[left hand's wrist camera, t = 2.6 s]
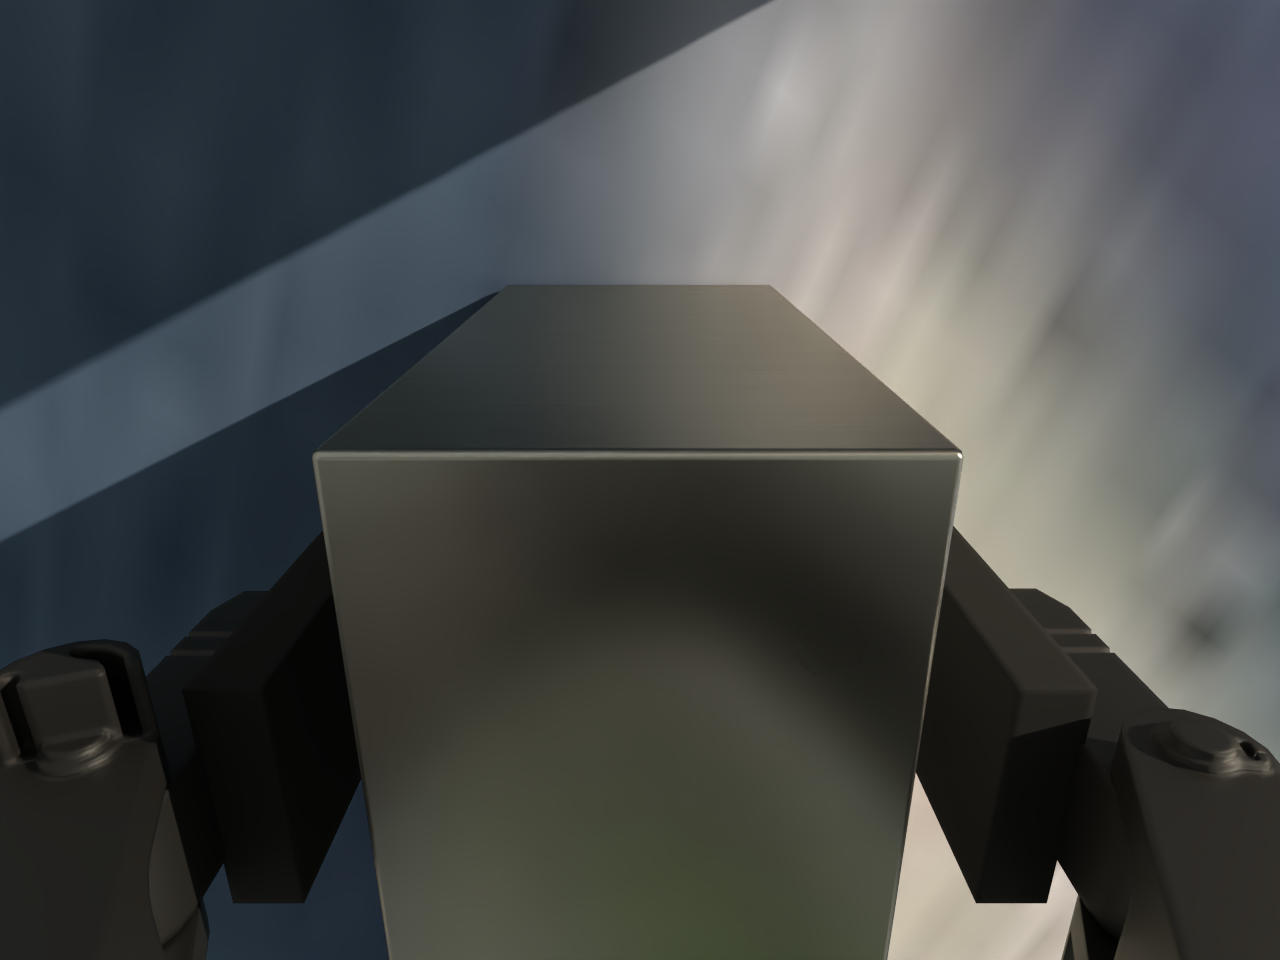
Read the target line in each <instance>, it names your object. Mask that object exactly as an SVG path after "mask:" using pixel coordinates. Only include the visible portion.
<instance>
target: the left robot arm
mask: <svg viewBox="0 0 1280 960" xmlns="http://www.w3.org/2000/svg"><path fill="white" fill-rule="evenodd" d="M1109 649H1110V648H1109V647H1108V646H1107V645H1106V644H1105V643H1104V642H1103V641H1102V640H1101V639H1100V638H1099V637H1098V636H1097V635H1096V634H1092V633H1091V629H1090V628H1089V627H1088V626H1087V625H1086V624H1085V623H1084V622H1083V621H1082V620H1081V619H1080V618H1079V617H1078V616H1077V615H1076V614H1075V613H1074V612H1073V611H1072V610H1071V609H1070V608H1069V607H1068V606H1066V605H1064V604H1062V603H1060V602H1059V601H1057V600H1055V599H1053V598H1052V597H1050V596H1048V595H1046V594H1044V593H1043V592H1041V591H1039V590H1037V589H1009V588H1008V587H1007V586H1006V585H1005V584H1004V583H1003V581H1002V580H1001V579H1000V578H999V577H998V576H997V575H996V574H995V572H994V571H993V570H992V569H991V568H990V567H989V566H988V565H987V563H986V562H985V561H984V560H983V559H982V558H981V557H980V555H979V554H978V553H977V552H976V551H975V550H974V549H973V548H972V546H971V545H970V544H969V543H968V542H967V541H966V540H965V539H964V537H963V536H962V535H961V534H960V533H959V532H958V531H957V530H956V528H955V527H954V526H953V529H952V536H951V542H950V549H949V556H948V562H947V569H946V575H945V582H944V588H943V595H942V602H941V608H940V615H939V621H938V628H937V635H936V641H935V648H934V654H933V661H932V667H931V674H930V681H929V687H928V694H927V700H926V707H925V714H924V720H923V727H922V733H921V740H920V746H919V753H918V760H917V766H916V774H917V776H918V778H919V780H920V782H921V784H922V787H923V789H924V791H925V793H926V795H927V797H928V800H929V802H930V804H931V806H932V808H933V810H934V813H935V815H936V817H937V819H938V821H939V824H940V826H941V828H942V830H943V832H944V834H945V837H946V839H947V841H948V843H949V845H950V847H951V850H952V852H953V854H954V856H955V858H956V861H957V863H958V865H959V867H960V869H961V871H962V874H963V876H964V878H965V880H966V882H967V884H968V887H969V889H970V891H971V893H972V895H973V897H974V900H975V902H976V903H1047V900H1048V895H1049V891H1050V887H1051V883H1052V879H1053V875H1054V871H1055V866H1056V862H1057V860H1058V862H1059V864H1060V865H1061V867H1062V868H1063V870H1064V872H1065V873H1066V875H1067V877H1068V878H1069V880H1070V882H1071V883H1072V885H1073V887H1074V888H1075V890H1076V892H1077V893H1078V897H1077V901H1076V905H1075V909H1074V913H1073V916H1072V920H1071V924H1070V928H1069V932H1068V936H1067V940H1066V943H1065V947H1064V951H1063V955H1062V959H1061V960H1280V763H1279V762H1278V761H1277V760H1276V759H1275V757H1274V756H1273V755H1272V754H1271V753H1270V751H1269V750H1268V749H1267V748H1266V747H1264V746H1263V745H1261V744H1260V743H1258V742H1257V741H1256V740H1254V739H1253V738H1251V737H1250V736H1248V735H1247V734H1246V733H1244V732H1243V731H1240V730H1238V729H1236V728H1234V727H1232V726H1230V725H1227V724H1225V723H1223V722H1221V721H1219V720H1217V719H1214V718H1211V717H1207V716H1204V715H1200V714H1197V713H1193V712H1190V711H1186V710H1180V709H1170V708H1168V707H1167V706H1166V705H1165V704H1164V703H1163V702H1162V701H1161V700H1160V699H1159V698H1158V697H1157V696H1156V695H1155V694H1154V693H1153V692H1152V691H1151V690H1150V689H1149V688H1148V687H1147V686H1146V685H1145V684H1144V683H1143V682H1142V681H1141V680H1140V679H1139V678H1138V677H1137V676H1136V674H1135V673H1134V672H1133V671H1132V670H1131V669H1130V668H1129V667H1128V666H1127V665H1126V664H1125V663H1124V662H1123V661H1122V660H1121V659H1120V658H1119V657H1118V656H1117V655H1116V654H1115V653H1110V651H1109ZM360 780H361V772H360V766H359V759H358V753H357V746H356V740H355V734H354V727H353V721H352V714H351V708H350V701H349V695H348V688H347V682H346V675H345V669H344V662H343V656H342V649H341V643H340V636H339V630H338V623H337V617H336V610H335V604H334V597H333V591H332V584H331V578H330V571H329V565H328V558H327V552H326V545H325V539H324V532H323V531H322V532H321V533H320V534H319V535H318V536H317V537H316V539H315V540H314V541H313V542H312V543H311V544H310V545H309V546H308V548H307V549H306V550H305V551H304V552H303V553H302V554H301V555H300V557H299V558H298V559H297V560H296V561H295V562H294V563H293V565H292V566H291V567H290V568H289V569H288V570H287V571H286V572H285V574H284V575H283V576H282V577H281V578H280V579H279V580H278V581H277V583H276V584H275V585H274V586H273V587H272V588H271V589H270V590H269V591H244V592H243V593H241V594H239V595H237V596H236V597H234V598H232V599H230V600H228V601H227V602H225V603H223V604H221V605H220V606H218V607H216V608H214V609H213V610H211V611H210V612H209V613H208V614H207V615H206V616H205V617H204V618H203V619H202V620H201V621H200V622H199V623H198V624H197V625H196V626H195V627H194V628H193V629H192V630H191V631H190V632H189V637H185V638H184V639H183V640H182V641H181V642H180V643H179V644H178V645H177V646H176V647H175V648H174V649H173V650H172V651H171V656H166V657H165V658H164V659H163V660H162V661H161V662H160V663H159V664H158V665H157V666H156V667H155V668H154V669H153V670H152V671H151V672H150V673H149V674H148V675H147V676H146V677H145V673H144V669H143V665H142V661H141V658H140V654H139V651H138V650H137V649H135V648H134V647H132V646H131V645H129V644H128V643H126V642H120V641H112V640H105V639H103V640H91V641H79V642H73V643H69V644H65V645H61V646H57V647H53V648H49V649H45V650H42V651H39V652H37V653H34V654H32V655H29V656H27V657H24V658H22V659H19V660H17V661H14V662H12V663H11V664H9V665H7V666H6V667H4V668H2V669H1V670H0V960H206V955H207V947H208V939H209V924H208V918H207V913H206V909H205V905H204V901H203V896H204V894H205V893H206V891H207V889H208V888H209V886H210V884H211V883H212V881H213V879H214V878H215V876H216V874H217V873H218V871H219V869H220V868H221V866H222V864H223V863H224V866H225V871H226V875H227V879H228V883H229V887H230V891H231V895H232V900H233V903H304V902H305V900H306V898H307V895H308V893H309V891H310V889H311V887H312V884H313V882H314V880H315V878H316V876H317V874H318V871H319V869H320V867H321V865H322V863H323V861H324V858H325V856H326V854H327V852H328V850H329V847H330V845H331V843H332V841H333V839H334V837H335V834H336V832H337V830H338V828H339V826H340V824H341V821H342V819H343V817H344V815H345V813H346V811H347V808H348V806H349V804H350V802H351V800H352V797H353V795H354V793H355V791H356V789H357V787H358V784H359V782H360Z"/></svg>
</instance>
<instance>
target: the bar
mask: <svg viewBox="0 0 1280 960" xmlns="http://www.w3.org/2000/svg"><path fill="white" fill-rule="evenodd" d="M312 461H313V467H314V474H315V480H316V487H317V493H318V500H319V506H320V513H321V519H322V526H323V532H324V539H325V545H326V552H327V558H328V565H329V571H330V578H331V584H332V591H333V597H334V604H335V610H336V617H337V623H338V630H339V636H340V643H341V649H342V656H343V662H344V669H345V675H346V682H347V688H348V695H349V701H350V708H351V714H352V721H353V727H354V734H355V740H356V746H357V753H358V759H359V766H360V772H361V779H362V785H363V792H364V798H365V805H366V811H367V818H368V824H369V831H370V837H371V844H372V850H373V857H374V863H375V870H376V876H377V883H378V889H379V896H380V902H381V909H382V915H383V922H384V928H385V935H386V941H387V948H388V954H389V960H887V957H888V950H889V944H890V937H891V931H892V924H893V918H894V911H895V904H896V898H897V891H898V885H899V878H900V871H901V865H902V858H903V852H904V845H905V839H906V832H907V825H908V819H909V812H910V806H911V799H912V792H913V786H914V779H915V773H916V766H917V760H918V753H919V746H920V740H921V733H922V727H923V720H924V714H925V707H926V700H927V694H928V687H929V681H930V674H931V667H932V661H933V654H934V648H935V641H936V635H937V628H938V621H939V615H940V608H941V602H942V595H943V588H944V582H945V575H946V569H947V562H948V556H949V549H950V542H951V536H952V529H953V523H954V516H955V509H956V503H957V496H958V490H959V483H960V477H961V470H962V463H963V455H962V451H961V450H960V449H959V448H958V447H956V446H955V445H954V444H953V443H952V442H951V441H949V440H948V439H947V438H946V437H945V436H944V435H943V434H941V433H940V432H939V431H938V430H937V429H936V428H934V427H933V426H932V425H931V424H930V423H929V422H928V421H926V420H925V419H924V418H923V417H922V416H921V415H919V414H918V413H917V412H916V411H915V410H914V409H913V408H911V407H910V406H909V405H908V404H907V403H906V402H904V401H903V400H902V399H901V398H900V397H899V396H898V395H896V394H895V393H894V392H893V391H892V390H891V389H889V388H888V387H887V386H886V385H885V384H884V383H883V382H881V381H880V380H879V379H878V378H877V377H876V376H875V375H873V374H872V373H871V372H870V371H869V370H868V369H866V368H865V367H864V366H863V365H862V364H861V363H860V362H858V361H857V360H856V359H855V358H854V357H853V356H851V355H850V354H849V353H848V352H847V351H846V350H845V349H843V348H842V347H841V346H840V345H839V344H838V343H836V342H835V341H834V340H833V339H832V338H831V337H830V336H828V335H827V334H826V333H825V332H824V331H823V330H821V329H820V328H819V327H818V326H817V325H816V324H815V323H813V322H812V321H811V320H810V319H809V318H808V317H806V316H805V315H804V314H803V313H802V312H801V311H800V310H798V309H797V308H796V307H795V306H794V305H793V304H792V303H790V302H789V301H788V300H787V299H786V298H785V297H783V296H782V295H781V294H780V293H779V292H778V291H777V290H775V289H774V288H773V287H772V286H770V285H508V286H506V287H505V288H504V289H503V290H502V291H500V292H499V293H498V294H497V295H496V296H495V297H493V298H492V299H491V300H490V301H489V302H487V303H486V304H485V305H484V306H483V307H482V308H480V309H479V310H478V311H477V312H476V313H475V314H473V315H472V316H471V317H470V318H469V319H468V320H466V321H465V322H464V323H463V324H462V325H461V326H459V327H458V328H457V329H456V330H455V331H454V332H452V333H451V334H450V335H449V336H448V337H447V338H445V339H444V340H443V341H442V342H441V343H440V344H438V345H437V346H436V347H435V348H434V349H433V350H431V351H430V352H429V353H428V354H427V355H426V356H424V357H423V358H422V359H421V360H420V361H418V362H417V363H416V364H415V365H414V366H413V367H411V368H410V369H409V370H408V371H407V372H406V373H404V374H403V375H402V376H401V377H400V378H399V379H397V380H396V381H395V382H394V383H393V384H392V385H390V386H389V387H388V388H387V389H386V390H385V391H383V392H382V393H381V394H380V395H379V396H378V397H376V398H375V399H374V400H373V401H372V402H371V403H369V404H368V405H367V406H366V407H365V408H364V409H362V410H361V411H360V412H359V413H358V414H357V415H355V416H354V417H353V418H352V419H351V420H350V421H348V422H347V423H346V424H345V425H344V426H342V427H341V428H340V429H339V430H338V431H337V432H335V433H334V434H333V435H332V436H331V437H330V438H328V439H327V440H326V441H325V442H324V443H323V444H321V445H320V446H319V447H318V448H317V449H316V450H314V452H313V456H312Z"/></svg>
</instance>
